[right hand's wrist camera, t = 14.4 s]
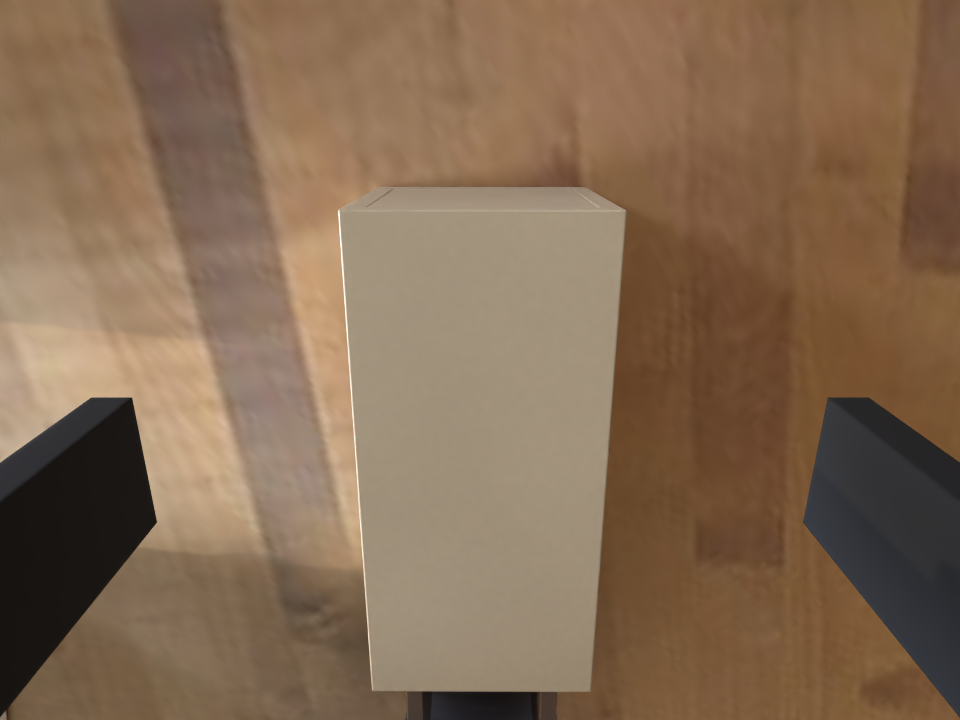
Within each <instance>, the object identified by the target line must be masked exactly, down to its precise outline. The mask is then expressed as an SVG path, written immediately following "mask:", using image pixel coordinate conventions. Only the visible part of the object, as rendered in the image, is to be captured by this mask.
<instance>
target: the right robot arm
mask: <svg viewBox="0 0 960 720" xmlns="http://www.w3.org/2000/svg"><path fill="white" fill-rule="evenodd" d="M156 523H157V520H156V515H155V510H154V505H153V500H152V495H151V490H150V485H149V480H148V475H147V470H146V465H145V460H144V455H143V450H142V445H141V440H140V435H139V430H138V425H137V420H136V415H135V410H134V405H133V400H132V398H90V399H89V400H87V401H86V402H85V403H83V404H82V405H80V406H79V407H78V408H76V409H75V410H73V411H72V412H71V413H69V414H68V415H66V416H65V417H64V418H62V419H61V420H59V421H58V422H57V423H55V424H54V425H52V426H51V427H50V428H48V429H47V430H45V431H44V432H43V433H41V434H40V435H38V436H37V437H36V438H34V439H33V440H31V441H30V442H29V443H27V444H26V445H24V446H23V447H22V448H20V449H19V450H17V451H16V452H15V453H13V454H12V455H10V456H9V457H8V458H6V459H5V460H3V461H2V462H1V463H0V717H1V716H2V715H3V713H4V712H5V711H6V710H7V708H8V707H9V706H10V705H11V703H12V702H13V701H14V700H15V698H16V697H17V696H18V695H19V693H20V692H21V691H22V690H23V688H24V687H25V686H26V685H27V684H28V682H29V681H30V680H31V679H32V677H33V676H34V675H35V674H36V672H37V671H38V670H39V669H40V667H41V666H42V665H43V664H44V662H45V661H46V660H47V659H48V657H49V656H50V655H51V654H52V652H53V651H54V650H55V649H56V647H57V646H58V645H59V644H60V642H61V641H62V640H63V639H64V637H65V636H66V635H67V634H68V632H69V631H70V630H71V629H72V627H73V626H74V625H75V624H76V623H77V621H78V620H79V619H80V618H81V616H82V615H83V614H84V613H85V611H86V610H87V609H88V608H89V606H90V605H91V604H92V603H93V601H94V600H95V599H96V598H97V596H98V595H99V594H100V593H101V591H102V590H103V589H104V588H105V586H106V585H107V584H108V583H109V581H110V580H111V579H112V578H113V576H114V575H115V574H116V573H117V571H118V570H119V569H120V568H121V566H122V565H123V564H124V563H125V562H126V560H127V559H128V558H129V557H130V555H131V554H132V553H133V552H134V550H135V549H136V548H137V547H138V545H139V544H140V543H141V542H142V540H143V539H144V538H145V537H146V535H147V534H148V533H149V532H150V530H151V529H152V528H153V527H154V525H155V524H156ZM803 523H804V524H805V525H806V527H807V528H808V529H809V530H810V532H811V533H812V534H813V535H814V537H815V538H816V539H817V540H818V542H819V543H820V544H821V545H822V547H823V548H824V549H825V550H826V552H827V553H828V554H829V555H830V557H831V558H832V559H833V560H834V562H835V563H836V564H837V565H838V566H839V568H840V569H841V570H842V571H843V573H844V574H845V575H846V576H847V578H848V579H849V580H850V581H851V583H852V584H853V585H854V586H855V588H856V589H857V590H858V591H859V593H860V594H861V595H862V596H863V598H864V599H865V600H866V601H867V603H868V604H869V605H870V606H871V608H872V609H873V610H874V611H875V613H876V614H877V615H878V616H879V618H880V619H881V620H882V621H883V623H884V624H885V625H886V626H887V627H888V629H889V630H890V631H891V632H892V634H893V635H894V636H895V637H896V639H897V640H898V641H899V642H900V644H901V645H902V646H903V647H904V649H905V650H906V651H907V652H908V654H909V655H910V656H911V657H912V659H913V660H914V661H915V662H916V664H917V665H918V666H919V667H920V669H921V670H922V671H923V672H924V674H925V675H926V676H927V677H928V679H929V680H930V681H931V682H932V684H933V685H934V686H935V687H936V688H937V690H938V691H939V692H940V693H941V695H942V696H943V697H944V698H945V700H946V701H947V702H948V703H949V705H950V706H951V707H952V708H953V710H954V711H955V712H956V713H957V715H958V716H959V717H960V463H959V462H958V461H957V460H955V459H954V458H952V457H951V456H950V455H948V454H947V453H945V452H944V451H943V450H941V449H940V448H938V447H937V446H936V445H934V444H933V443H931V442H930V441H929V440H927V439H926V438H924V437H923V436H922V435H920V434H919V433H917V432H916V431H915V430H913V429H912V428H910V427H909V426H908V425H906V424H905V423H903V422H902V421H901V420H899V419H898V418H896V417H895V416H894V415H892V414H891V413H889V412H888V411H887V410H885V409H884V408H882V407H881V406H880V405H878V404H877V403H875V402H874V401H873V400H871V399H870V398H828V400H827V405H826V410H825V415H824V420H823V425H822V430H821V435H820V440H819V445H818V450H817V455H816V460H815V465H814V470H813V475H812V480H811V485H810V490H809V495H808V500H807V505H806V510H805V515H804V520H803Z"/></svg>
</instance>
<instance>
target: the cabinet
mask: <svg viewBox="0 0 960 720" xmlns="http://www.w3.org/2000/svg"><path fill="white" fill-rule="evenodd" d="M338 215H339V229H340V243H341V257H342V271H343V285H344V300H345V314H346V328H347V342H348V356H349V370H350V385H351V399H352V413H353V427H354V441H355V455H356V469H357V484H358V498H359V512H360V526H361V540H362V554H363V568H364V583H365V597H366V611H367V625H368V639H369V653H370V667H371V682H372V691H454V692H591V685H592V671H593V658H594V644H595V631H596V618H597V604H598V591H599V577H600V564H601V551H602V537H603V524H604V510H605V497H606V484H607V470H608V457H609V443H610V430H611V417H612V403H613V390H614V376H615V363H616V349H617V336H618V323H619V309H620V296H621V282H622V269H623V256H624V242H625V229H626V215H627V211H626V210H625V209H623V208H621V207H619V206H617V205H615V204H614V203H612V202H610V201H609V200H607V199H605V198H603V197H602V196H600V195H598V194H596V193H595V192H593V191H591V190H589V189H588V188H586V187H379V188H376V189H375V190H373V191H371V192H369V193H368V194H366V195H364V196H362V197H361V198H359V199H357V200H355V201H353V202H352V203H350V204H348V205H346V206H345V207H343V208H342V209H340V210H339V211H338Z"/></svg>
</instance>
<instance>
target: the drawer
mask: <svg viewBox="0 0 960 720" xmlns="http://www.w3.org/2000/svg"><path fill="white" fill-rule="evenodd" d="M406 705H407V713H406V720H557V713H556V707H557V692H454V691H406Z"/></svg>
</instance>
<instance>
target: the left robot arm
mask: <svg viewBox="0 0 960 720" xmlns="http://www.w3.org/2000/svg"><path fill="white" fill-rule="evenodd" d="M0 720H7V715H6V711H5V712H4V713H3V715H2V716H1V717H0Z"/></svg>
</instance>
